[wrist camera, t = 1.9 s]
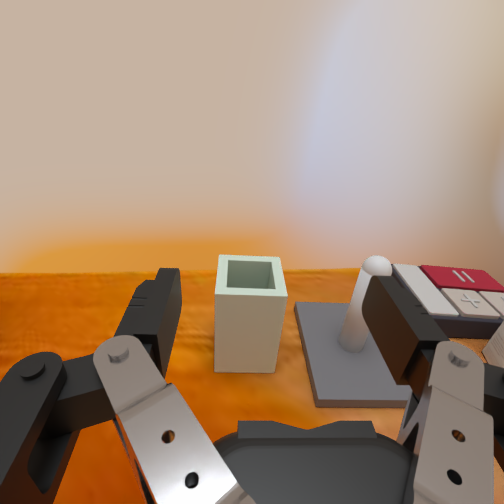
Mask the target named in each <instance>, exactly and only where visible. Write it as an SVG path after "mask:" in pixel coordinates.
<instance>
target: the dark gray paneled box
mask: <svg viewBox="0 0 504 504" xmlns="http://www.w3.org/2000/svg"><path fill="white" fill-rule="evenodd" d="M391 266H392V274H391V276H393V277H394V278H395V279H396V281H397V282H398V284H399V285H400V286H401V288H405V289H406V290H408V291H409V292H411V293H412V294H413V295H415V296H416V297H417V299H418V300H419V301H420V303H421V304H422V305H423V307H424V308H425V309H426V310H427V312H428V313H429V315H430V316H431V317H432V318H433V319H434V321H435V322H436V323H437V325H438V326H439V327H440V328H441V330H442V331H443V332H444V334H445V335H446V336H447V337H448V338H452V337H458V338H474V339H491V338H492V336H493V335H494V333H495V332H496V331H497V329H498V328H499V327H500V325H501V324H502V322H503V321H504V287H503V286H502V285H501V284H499V283H498V282H497V281H496V280H495V279H493V278H492V277H491V276H490V275H489V274H488V273H486V272H485V271H483V270H474V269H463V268H451V267H440V266H429V265H421V266H415V265H404V264H391Z"/></svg>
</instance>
